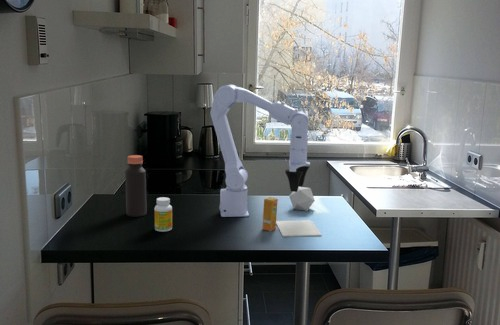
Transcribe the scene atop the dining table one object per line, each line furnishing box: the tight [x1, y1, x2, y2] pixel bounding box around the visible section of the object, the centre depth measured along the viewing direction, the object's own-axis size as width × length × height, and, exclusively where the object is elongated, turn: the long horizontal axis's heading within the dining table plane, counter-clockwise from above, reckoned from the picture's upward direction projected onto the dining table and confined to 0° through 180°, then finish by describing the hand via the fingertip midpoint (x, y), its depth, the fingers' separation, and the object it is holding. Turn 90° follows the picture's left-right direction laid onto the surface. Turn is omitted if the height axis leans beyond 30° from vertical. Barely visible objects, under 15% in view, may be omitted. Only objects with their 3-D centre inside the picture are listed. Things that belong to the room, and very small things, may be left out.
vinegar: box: [124, 154, 148, 218], centre depth 167 cm, size 7×7×20 cm
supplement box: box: [262, 196, 278, 232], centre depth 155 cm, size 3×3×10 cm
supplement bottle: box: [153, 196, 173, 233], centre depth 153 cm, size 5×5×10 cm
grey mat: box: [276, 219, 323, 238], centre depth 157 cm, size 12×14×1 cm
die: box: [288, 186, 315, 212], centre depth 178 cm, size 8×9×10 cm
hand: (296, 188), depth 166 cm, fingers open, 7 cm apart
